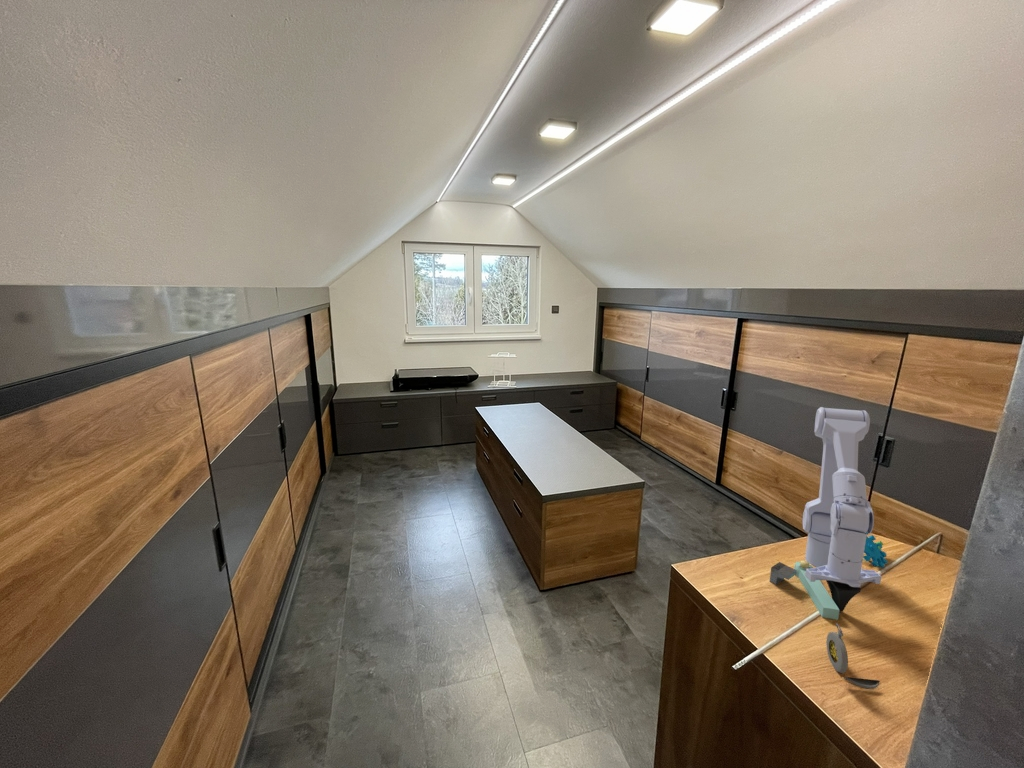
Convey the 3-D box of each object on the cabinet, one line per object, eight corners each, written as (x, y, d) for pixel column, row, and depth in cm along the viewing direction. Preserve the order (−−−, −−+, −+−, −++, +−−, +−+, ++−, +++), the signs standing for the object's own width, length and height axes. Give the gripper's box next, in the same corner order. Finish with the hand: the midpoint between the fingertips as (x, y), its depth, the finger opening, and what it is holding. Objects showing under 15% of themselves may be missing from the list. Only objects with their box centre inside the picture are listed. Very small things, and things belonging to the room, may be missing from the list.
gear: (875, 568, 105) (850, 530, 110) (853, 573, 109) (830, 536, 115) (899, 563, 109) (873, 526, 114) (876, 568, 113) (853, 532, 119)
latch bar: (791, 569, 106) (793, 556, 105) (809, 571, 105) (810, 558, 104) (819, 616, 90) (821, 602, 89) (840, 620, 89) (842, 605, 88)
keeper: (777, 580, 104) (779, 561, 103) (794, 589, 100) (796, 570, 99) (769, 586, 102) (771, 567, 101) (786, 595, 98) (788, 576, 97)
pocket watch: (888, 684, 75) (896, 639, 73) (855, 698, 73) (863, 651, 71) (841, 649, 83) (848, 607, 81) (811, 661, 81) (816, 617, 79)
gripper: (823, 565, 85) (815, 620, 88) (896, 567, 84) (886, 623, 87) (802, 545, 92) (795, 597, 95) (870, 547, 91) (861, 599, 94)
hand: (837, 608), depth 91 cm, fingers closed
